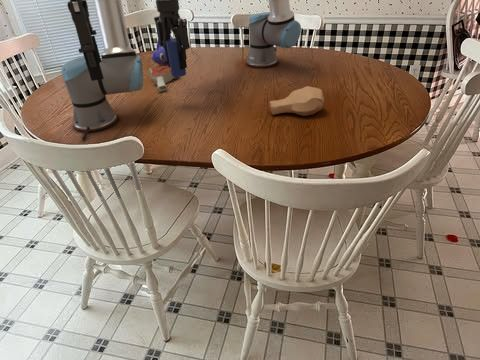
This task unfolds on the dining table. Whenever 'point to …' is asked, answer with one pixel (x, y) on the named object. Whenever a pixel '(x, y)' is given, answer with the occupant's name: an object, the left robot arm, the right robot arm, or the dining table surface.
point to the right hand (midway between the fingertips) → (177, 67)
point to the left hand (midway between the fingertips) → (97, 70)
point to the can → (174, 58)
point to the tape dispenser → (161, 77)
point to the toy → (159, 54)
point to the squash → (300, 102)
